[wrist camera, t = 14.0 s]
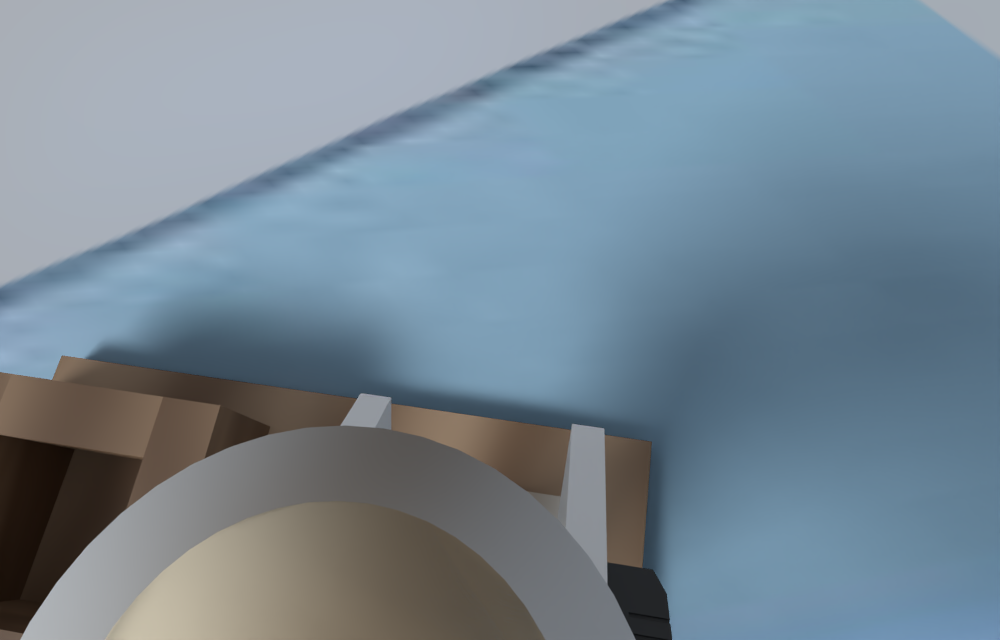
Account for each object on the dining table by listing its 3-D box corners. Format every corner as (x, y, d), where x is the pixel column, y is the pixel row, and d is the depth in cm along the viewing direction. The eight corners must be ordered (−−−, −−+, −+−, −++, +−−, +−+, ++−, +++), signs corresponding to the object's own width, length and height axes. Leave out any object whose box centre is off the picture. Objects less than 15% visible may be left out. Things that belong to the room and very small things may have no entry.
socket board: (646, 445, 24) (676, 422, 19) (617, 826, 20) (646, 917, 15) (79, 362, 26) (-23, 322, 21) (-48, 692, 22) (-208, 736, 17)
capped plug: (572, 518, 21) (690, 473, 6) (551, 715, 19) (642, 1412, 4) (403, 492, 21) (102, 387, 6) (366, 682, 20) (-183, 1181, 4)
